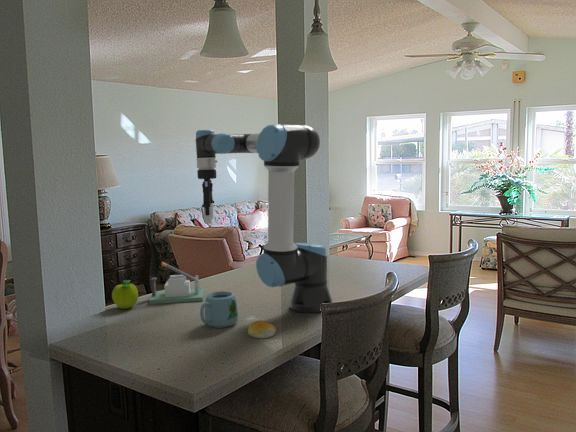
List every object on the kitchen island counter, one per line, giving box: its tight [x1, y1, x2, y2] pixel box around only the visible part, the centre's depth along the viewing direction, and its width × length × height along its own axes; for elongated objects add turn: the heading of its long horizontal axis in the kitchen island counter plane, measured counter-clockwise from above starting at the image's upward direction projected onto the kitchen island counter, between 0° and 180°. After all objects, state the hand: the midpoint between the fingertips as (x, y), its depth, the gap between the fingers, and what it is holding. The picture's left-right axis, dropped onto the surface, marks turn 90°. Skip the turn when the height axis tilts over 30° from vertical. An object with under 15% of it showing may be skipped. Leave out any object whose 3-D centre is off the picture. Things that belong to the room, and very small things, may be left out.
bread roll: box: [247, 320, 277, 339], centre depth 160 cm, size 8×9×4 cm
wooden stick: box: [160, 261, 195, 282], centre depth 203 cm, size 16×2×1 cm, turn 96°
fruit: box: [111, 279, 139, 310], centre depth 192 cm, size 9×9×10 cm
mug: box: [199, 291, 239, 329], centre depth 169 cm, size 15×11×10 cm
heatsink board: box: [148, 274, 206, 305], centre depth 204 cm, size 20×13×8 cm, turn 95°
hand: (209, 221), depth 211 cm, fingers open, 13 cm apart
